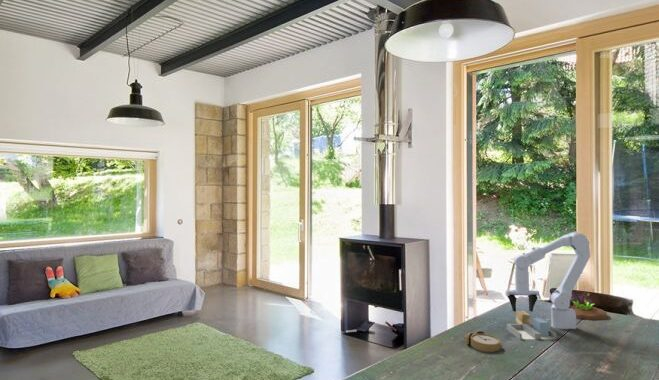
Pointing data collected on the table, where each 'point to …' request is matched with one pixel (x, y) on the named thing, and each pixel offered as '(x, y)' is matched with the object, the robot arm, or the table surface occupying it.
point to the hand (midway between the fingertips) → (522, 311)
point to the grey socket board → (528, 332)
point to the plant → (587, 309)
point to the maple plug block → (522, 317)
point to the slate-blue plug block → (541, 326)
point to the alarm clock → (483, 341)
